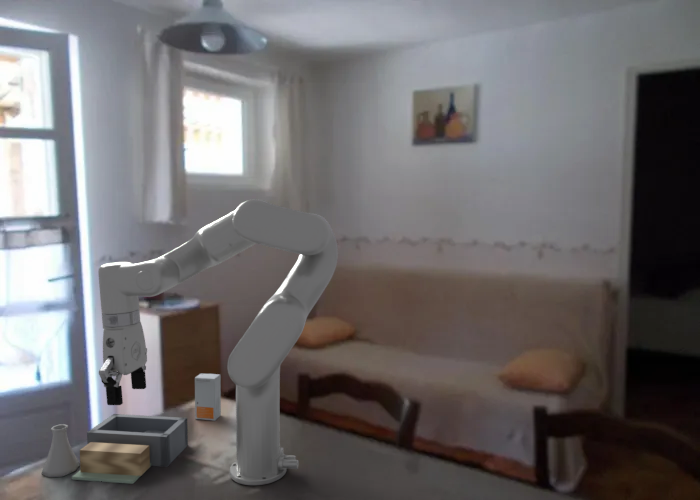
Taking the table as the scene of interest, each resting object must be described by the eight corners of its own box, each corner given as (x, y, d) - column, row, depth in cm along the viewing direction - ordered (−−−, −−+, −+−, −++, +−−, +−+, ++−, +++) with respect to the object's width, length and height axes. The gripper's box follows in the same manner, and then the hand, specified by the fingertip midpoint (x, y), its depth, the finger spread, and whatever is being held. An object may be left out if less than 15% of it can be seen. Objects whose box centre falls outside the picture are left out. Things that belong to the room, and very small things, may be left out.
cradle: (187, 445, 131) (187, 417, 131) (167, 466, 120) (166, 436, 120) (114, 440, 134) (113, 413, 133) (87, 461, 123) (86, 432, 122)
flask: (63, 480, 114) (61, 435, 114) (34, 476, 116) (32, 432, 115) (86, 464, 122) (84, 421, 121) (59, 461, 123) (57, 419, 122)
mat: (151, 465, 121) (151, 463, 121) (132, 483, 113) (132, 481, 113) (94, 461, 123) (93, 459, 123) (71, 479, 115) (71, 476, 115)
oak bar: (149, 467, 119) (149, 445, 119) (140, 475, 115) (140, 453, 115) (91, 463, 121) (90, 442, 120) (80, 472, 117) (79, 450, 116)
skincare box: (194, 419, 147) (193, 377, 146) (201, 413, 151) (200, 372, 150) (215, 421, 146) (214, 378, 145) (221, 415, 150) (220, 373, 149)
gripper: (115, 328, 106) (122, 411, 107) (157, 311, 123) (162, 383, 124) (80, 328, 107) (87, 411, 108) (126, 311, 124) (132, 383, 125)
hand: (127, 396), depth 116 cm, fingers open, 9 cm apart
